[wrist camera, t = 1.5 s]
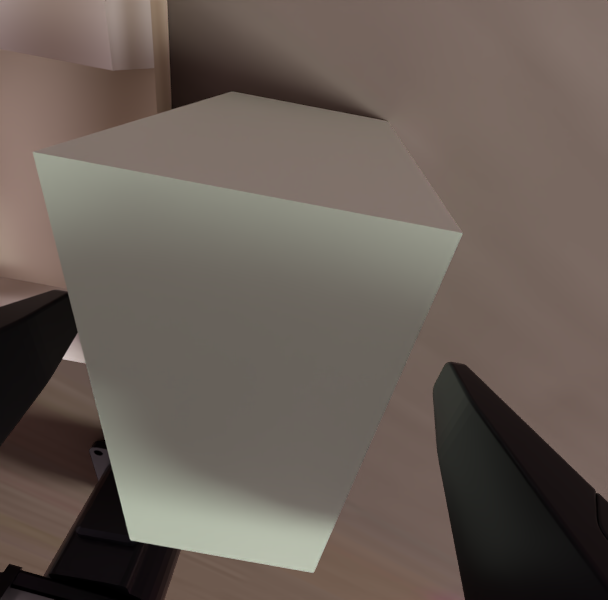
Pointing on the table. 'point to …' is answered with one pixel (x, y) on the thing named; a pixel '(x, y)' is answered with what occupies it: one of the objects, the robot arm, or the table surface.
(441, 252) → the key block
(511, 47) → the table surface
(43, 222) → the cradle
